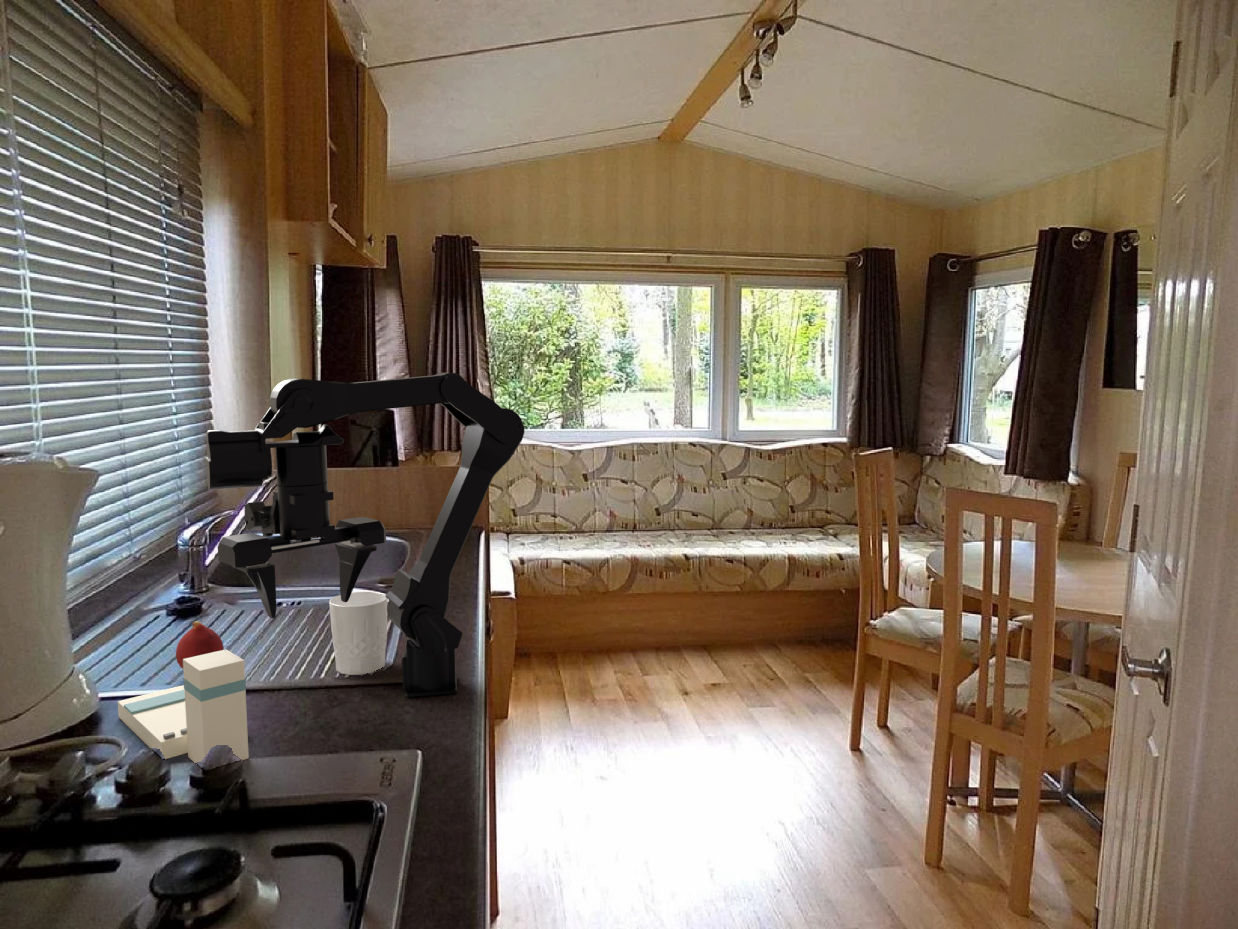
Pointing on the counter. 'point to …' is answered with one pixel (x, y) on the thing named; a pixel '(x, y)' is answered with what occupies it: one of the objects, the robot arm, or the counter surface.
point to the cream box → (215, 704)
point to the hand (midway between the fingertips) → (309, 609)
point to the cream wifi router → (158, 720)
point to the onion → (198, 643)
